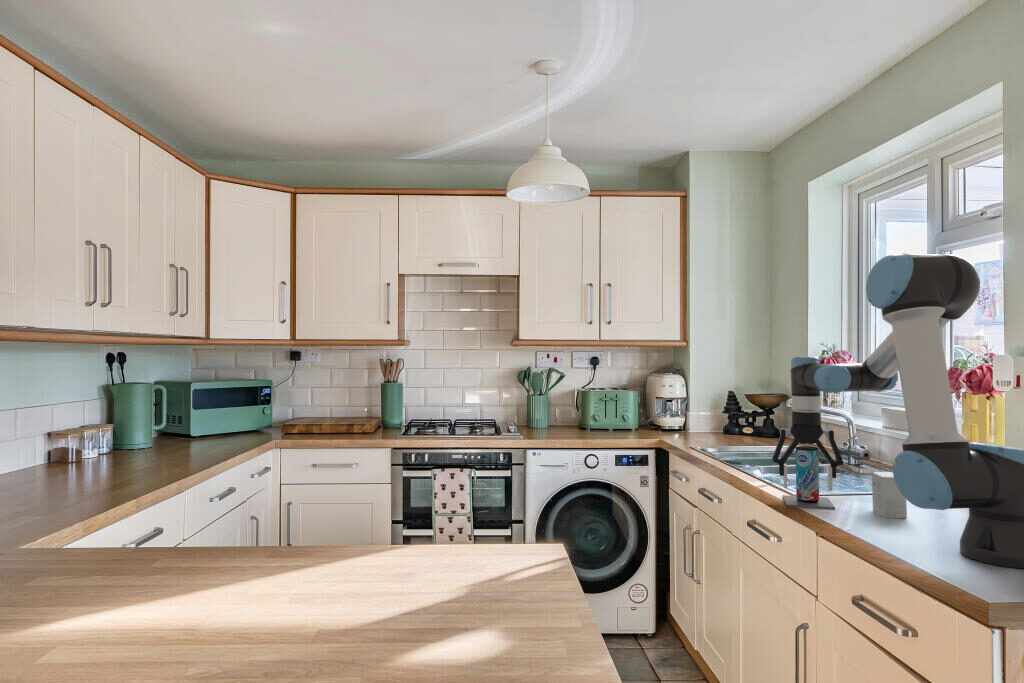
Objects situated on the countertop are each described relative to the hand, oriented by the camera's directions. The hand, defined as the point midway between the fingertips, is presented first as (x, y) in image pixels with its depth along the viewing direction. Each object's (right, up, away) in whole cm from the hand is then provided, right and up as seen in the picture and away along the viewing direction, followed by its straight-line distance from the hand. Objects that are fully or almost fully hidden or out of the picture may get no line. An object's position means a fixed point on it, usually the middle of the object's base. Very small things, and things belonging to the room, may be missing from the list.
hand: (807, 488), depth 181 cm
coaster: (0, -4, 0) cm, 4 cm away
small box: (+15, -4, -13) cm, 21 cm away
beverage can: (0, -4, 0) cm, 4 cm away
